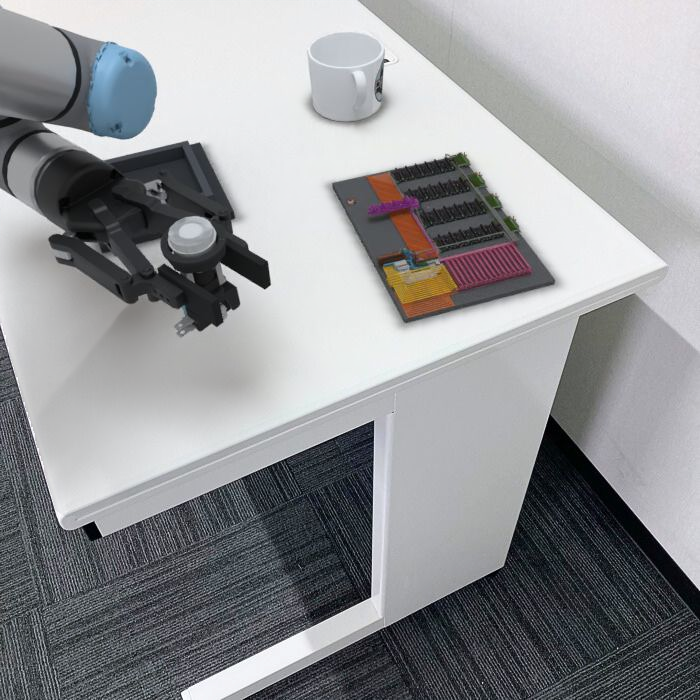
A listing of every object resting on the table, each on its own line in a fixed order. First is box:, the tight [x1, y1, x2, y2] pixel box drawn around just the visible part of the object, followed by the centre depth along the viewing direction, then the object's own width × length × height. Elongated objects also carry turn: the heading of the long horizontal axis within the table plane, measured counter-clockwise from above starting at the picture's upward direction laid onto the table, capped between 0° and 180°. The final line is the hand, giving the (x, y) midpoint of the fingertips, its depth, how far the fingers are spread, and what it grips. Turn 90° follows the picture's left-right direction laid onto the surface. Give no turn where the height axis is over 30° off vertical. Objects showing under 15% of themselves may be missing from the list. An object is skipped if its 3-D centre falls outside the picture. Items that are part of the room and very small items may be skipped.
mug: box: [306, 30, 386, 122], centre depth 102 cm, size 13×10×8 cm
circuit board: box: [331, 151, 556, 324], centre depth 86 cm, size 25×18×3 cm
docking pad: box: [98, 140, 236, 254], centre depth 91 cm, size 16×16×3 cm
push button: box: [159, 216, 241, 338], centre depth 63 cm, size 7×5×10 cm
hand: (242, 293), depth 60 cm, fingers closed on push button, 5 cm apart
